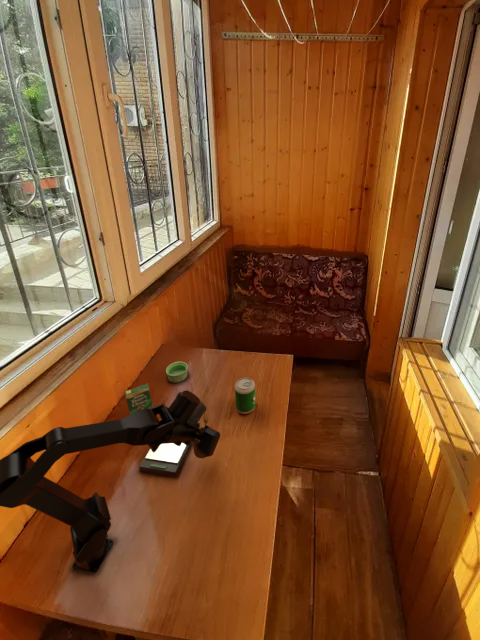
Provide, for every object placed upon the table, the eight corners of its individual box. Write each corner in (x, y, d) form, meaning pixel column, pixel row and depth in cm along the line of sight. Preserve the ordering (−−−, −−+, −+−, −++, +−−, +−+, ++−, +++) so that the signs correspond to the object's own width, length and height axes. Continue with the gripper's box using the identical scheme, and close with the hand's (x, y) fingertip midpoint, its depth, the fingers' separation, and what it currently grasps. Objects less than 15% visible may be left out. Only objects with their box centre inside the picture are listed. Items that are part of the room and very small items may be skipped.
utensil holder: (189, 456, 96) (186, 426, 92) (201, 439, 102) (198, 410, 98) (206, 462, 94) (203, 432, 90) (217, 444, 100) (214, 415, 96)
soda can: (252, 417, 116) (251, 392, 112) (233, 413, 117) (231, 388, 113) (258, 401, 123) (257, 377, 119) (240, 398, 124) (238, 374, 120)
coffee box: (130, 424, 113) (124, 396, 108) (130, 418, 115) (124, 390, 110) (154, 414, 117) (149, 387, 112) (153, 409, 119) (148, 382, 114)
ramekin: (167, 371, 139) (166, 363, 137) (188, 367, 141) (187, 359, 140) (166, 385, 131) (165, 377, 129) (188, 381, 133) (187, 373, 132)
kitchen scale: (176, 476, 95) (175, 471, 94) (139, 471, 97) (138, 465, 96) (195, 436, 108) (194, 431, 107) (163, 432, 110) (162, 426, 109)
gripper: (213, 413, 83) (240, 416, 96) (164, 388, 91) (195, 393, 104) (194, 459, 79) (224, 455, 92) (145, 428, 87) (179, 428, 100)
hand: (205, 431), depth 97 cm, fingers closed on utensil holder, 5 cm apart
